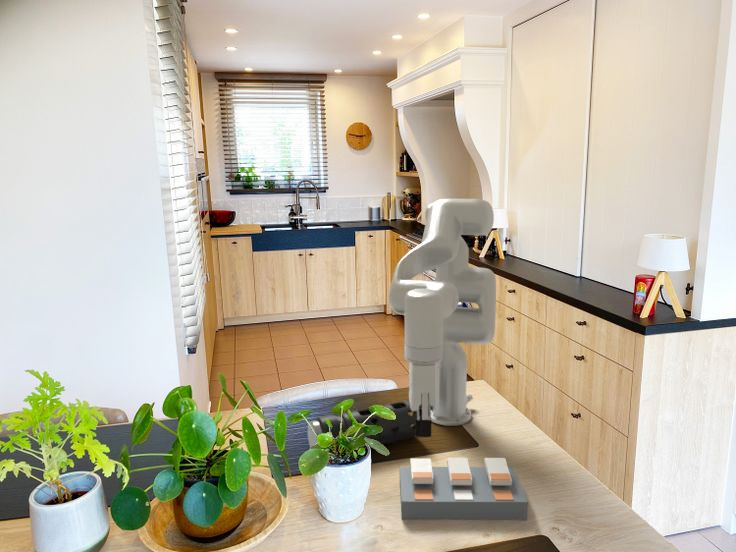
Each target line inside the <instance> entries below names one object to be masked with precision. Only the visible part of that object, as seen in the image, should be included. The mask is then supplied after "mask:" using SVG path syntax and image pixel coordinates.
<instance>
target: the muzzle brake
mask: <svg viewBox="0 0 736 552" xmlns="http://www.w3.org/2000/svg"><path fill="white" fill-rule="evenodd" d="M382 406H383V407H386V408H389V409H390V410H391V411H393V412H394V413H395V415H396V419H395V420H387V419H384V418H381V417H379V416H377V415H372V416H371V417H370V418H369V419H368V420H367V421H366V422H365V424H366V425H377V426H381V427H382V428H383V431H382V432H381V433H378V434H376V435H370V436H367V438H370V439H374V440H377V441H379V442H380V443H382V444H381V445H386V444H391V443H395V442H400V441H404V440H408V439H414V438H415V437H416V433H415V416H417V415H416V411H414V412H413V411H411V409H410V402H409V400H404V401H399V402H394V403H388V404H384V405H383V404H382ZM369 408H370V407H368V408H363V409H358V410H352V411H350V412H351V413H352V415H353V417H354V418H355V419H356V421H357V422H358V423H363V422H364V421H365V420H366V419H367V418H368V416H370V415H371V412H370V411H369ZM411 412H412V415H410V414H409V413H411ZM341 414H342V413H340V414H339V415H335V414H326V415H322V416H317V417H316V418H315V419H314V420H312V421H309V422H308V423H309V424H310V425H311V427H312V428H313V430H314V431H315V432H316V433H317V434H321V433H327V432H329V427H328V425H327V424H326V422H325V419H329V420H330V422H331V424H332V426H333V427H332V429H331V432H332V435H333V437H334V438H336V437H337V436H338V435H339V431H340V423H341ZM342 422H343V424H342V430H343V432H346V430H347V429H348V428H349V427H350V426H352V421H351V419H348V415H347V412H343V414H342ZM412 425H413V426H412ZM307 440H308V445H309V448H310V449H311V447H312V446H314V445H315V444H316V443H317V437H316V435H315V434H314V432H313V431H312V430H311V428H310V427H309V425H308V424H307Z"/></svg>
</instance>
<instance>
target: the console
mask: <svg viewBox="0 0 736 552" xmlns="http://www.w3.org/2000/svg"><path fill="white" fill-rule="evenodd" d="M469 467H470V472H471V477H472V485H450V478H449V472H448V466H432V472H433V484H412V477H411V466H399V493H400V494H399V495H400V516H401V520H417V521H418V520H422V521H423V520H426V521H427V520H429V521H430V520H433V521H434V520H437V521H439V520H442V521H444V520H445V521H446V520H447V521H448V520H450V521H453V520H455V521H456V520H459V521H461V520H463V521H528V515H529V514H528V513H529V500H528V499H527V496H526V494H525V491H524V490H523V487H522V484H521V482H520V480H519V477H518V476H517V473H516V470H515V468H514V467H513V466H508V469H509V472H510V476H511V479H512V485H490V483H489V480H488V477H487V471H486V467H485V466H469Z"/></svg>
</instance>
